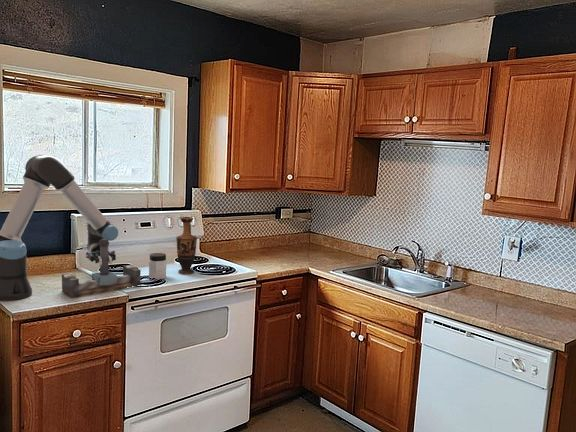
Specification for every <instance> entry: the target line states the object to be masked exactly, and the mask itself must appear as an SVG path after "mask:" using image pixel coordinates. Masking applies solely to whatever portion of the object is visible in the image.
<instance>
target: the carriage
mask: <svg viewBox="0 0 576 432" xmlns="http://www.w3.org/2000/svg"><path fill="white" fill-rule="evenodd" d="M99 245H100V257H101V259H102V265H100V264H99V267H100V269H99V271H98V272H93V273H91V278H92V279H91V280H97V281H99V285H106V284H112V283H117V276H118V275H117V274H115V273H114V272H113V271H110V270H109V262H108V251H109V245H110V241H109V240H107V239H101V240H100V241H99Z"/></svg>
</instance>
